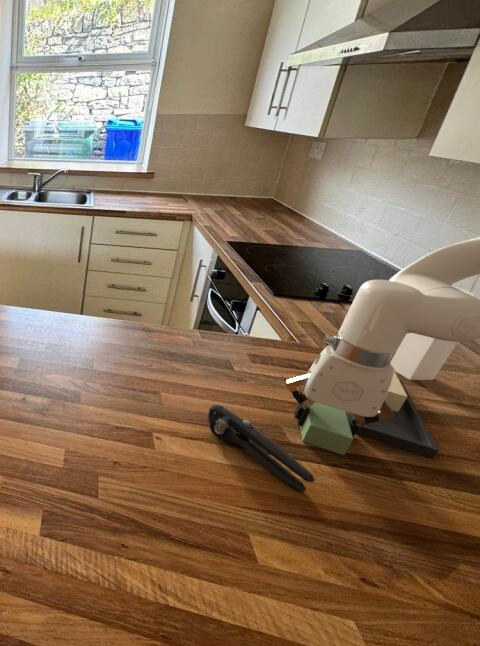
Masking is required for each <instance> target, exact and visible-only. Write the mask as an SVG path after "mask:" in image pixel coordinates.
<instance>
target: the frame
mask: <svg viewBox="0 0 480 646" xmlns="http://www.w3.org/2000/svg"><path fill="white" fill-rule="evenodd" d="M399 381H400V383H401V385H402V387H403V389H404V391H405V393H406V395H407V398H406V400H405V402H404V403H403V405H402V406H401V408H400V410H399V411H398V412H396V411H393V410H392V411H393V413H394V415H395V417H394V418H390V419H384V420H379V421H377V422H373V423H368V424H365V425H364V426H362V427H359V429H358V430H357V432H356V434H355V435H359V436H362V437H366V438H368V439H371V440H374V441H378V442H381V443H384V444H386V445H390V446H393V447H396V448H399V449H403V450H405V451H409V452H412V453H414V454H418V455H421V456H424V457H427V458H430V459H434V458H435V456H436V455H437V453H438V452H439V448H438V446H437V445H436V443H435V442H434V438H433V437H432V435H431V433H430V432H429V430H428V427H427V426H426V424H425V422H424V420H423V418H422V417H421V414H420V412H419V411H418V408H417V407H416V405H415V403H414V401H413V399H412V397H411V395H410V394H409V391H408V389H407V388H406V385H405V384H404V382H403V380H402V379H399ZM348 415H353V413H349V412H348Z"/></svg>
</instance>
